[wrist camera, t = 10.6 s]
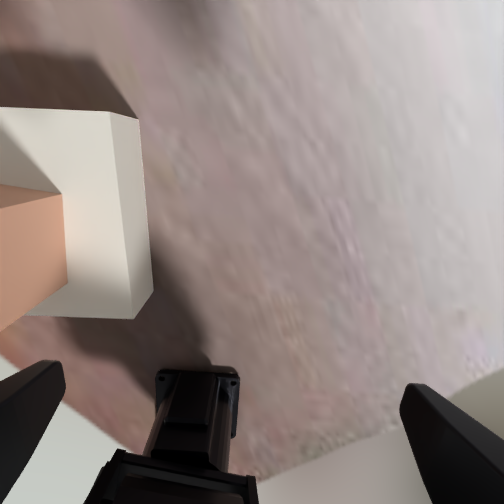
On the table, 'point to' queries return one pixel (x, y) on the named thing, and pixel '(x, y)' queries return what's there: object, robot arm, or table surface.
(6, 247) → the terracotta block
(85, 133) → the cream box
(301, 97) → the table surface
